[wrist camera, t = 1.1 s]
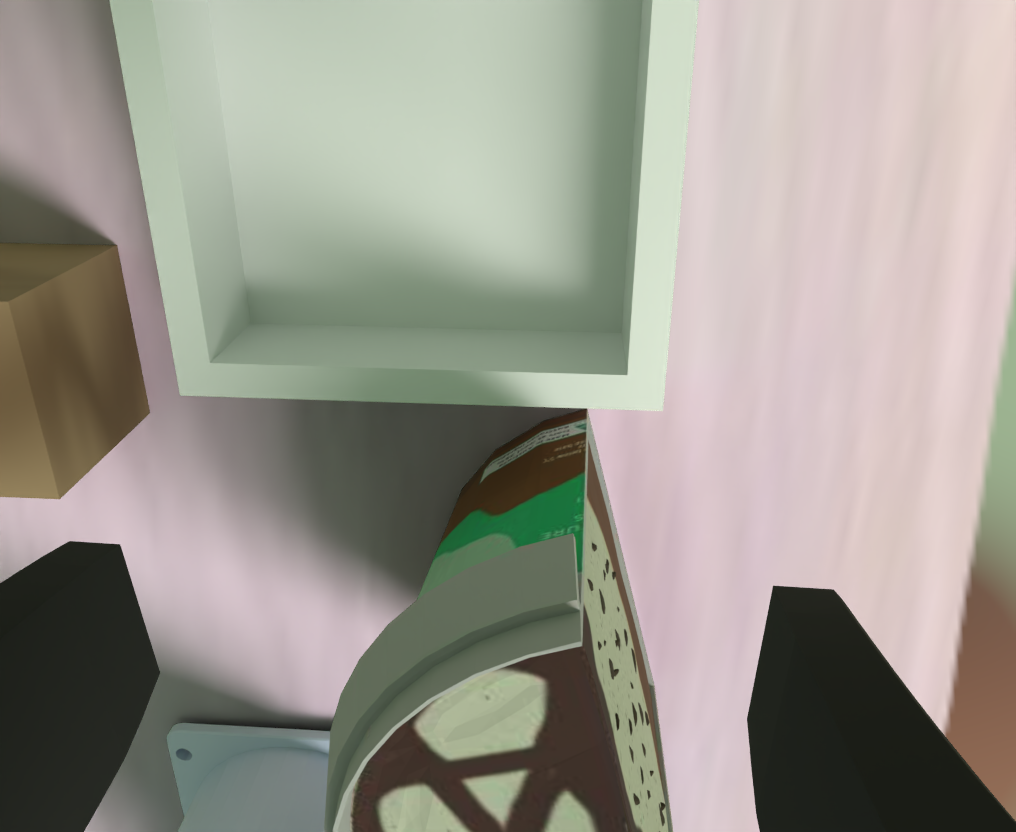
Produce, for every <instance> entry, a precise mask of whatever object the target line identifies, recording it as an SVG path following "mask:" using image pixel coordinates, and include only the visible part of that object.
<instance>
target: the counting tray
mask: <svg viewBox="0 0 1016 832" xmlns="http://www.w3.org/2000/svg"><path fill="white" fill-rule="evenodd" d="M109 2H110V7H111V13H112V18H113V24H114V30H115V35H116V41H117V46H118V52H119V57H120V63H121V69H122V74H123V80H124V85H125V91H126V97H127V102H128V108H129V113H130V119H131V125H132V130H133V136H134V141H135V147H136V152H137V158H138V164H139V169H140V175H141V180H142V186H143V192H144V197H145V203H146V208H147V214H148V219H149V225H150V231H151V236H152V242H153V247H154V253H155V259H156V264H157V270H158V275H159V281H160V287H161V292H162V298H163V303H164V309H165V314H166V320H167V326H168V331H169V337H170V342H171V348H172V354H173V359H174V365H175V370H176V376H177V382H178V387H179V393H180V396H208V397H240V398H271V399H303V400H334V401H366V402H397V403H429V404H461V405H492V406H524V407H555V408H587V409H618V410H650V411H663V402H664V391H665V379H666V368H667V357H668V345H669V334H670V323H671V311H672V300H673V289H674V277H675V266H676V254H677V243H678V232H679V220H680V209H681V198H682V186H683V175H684V164H685V152H686V141H687V130H688V118H689V107H690V95H691V84H692V73H693V61H694V50H695V39H696V27H697V16H698V5H699V0H109Z"/></svg>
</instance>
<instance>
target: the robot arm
mask: <svg viewBox="0 0 1016 832" xmlns="http://www.w3.org/2000/svg"><path fill="white" fill-rule="evenodd" d="M159 674H160V671H159V668H158V665H157V662H156V659H155V655H154V652H153V649H152V646H151V642H150V639H149V636H148V633H147V630H146V626H145V623H144V620H143V617H142V614H141V610H140V607H139V604H138V601H137V597H136V594H135V591H134V588H133V585H132V581H131V578H130V575H129V572H128V568H127V565H126V562H125V559H124V556H123V552H122V549H121V546H120V544H104V543H88V542H72V541H69V542H67V543H66V544H64V545H62V546H60V547H59V548H57V549H55V550H53V551H52V552H50V553H48V554H46V555H45V556H43V557H41V558H40V559H38V560H36V561H35V562H33V563H32V564H30V565H28V566H27V567H25V568H24V569H22V570H20V571H19V572H17V573H16V574H14V575H13V576H11V577H9V578H8V579H6V580H5V581H3V582H2V583H0V832H84V830H85V829H86V827H87V825H88V823H89V822H90V820H91V818H92V816H93V815H94V813H95V811H96V809H97V807H98V806H99V804H100V802H101V800H102V799H103V797H104V795H105V793H106V791H107V790H108V788H109V786H110V784H111V783H112V781H113V779H114V777H115V775H116V773H117V772H118V770H119V768H120V766H121V764H122V762H123V761H124V759H125V757H126V754H127V752H128V750H129V748H130V745H131V743H132V741H133V738H134V736H135V734H136V731H137V729H138V727H139V724H140V722H141V720H142V717H143V715H144V712H145V710H146V707H147V705H148V702H149V700H150V697H151V694H152V692H153V689H154V687H155V684H156V682H157V679H158V677H159ZM747 722H748V733H749V744H750V756H751V767H752V777H753V786H754V796H755V805H756V814H757V819H758V824H759V829H760V832H1016V821H1015V820H1014V819H1013V818H1012V817H1011V815H1010V814H1009V813H1008V812H1007V811H1006V810H1005V808H1004V807H1003V806H1002V805H1001V804H1000V803H999V801H998V800H997V799H996V798H995V797H994V795H993V794H992V793H991V792H990V791H989V790H988V788H987V787H986V786H985V785H984V784H983V782H982V781H981V780H980V779H979V777H978V776H977V775H976V774H975V773H974V771H973V770H972V769H971V768H970V766H969V765H968V764H967V763H966V761H965V760H964V759H963V758H962V757H961V755H960V754H959V753H958V752H957V750H956V749H955V748H954V747H953V745H952V744H951V743H950V742H949V741H948V739H947V738H946V737H945V736H944V734H943V733H942V732H941V731H940V729H939V728H938V727H937V726H936V724H935V723H934V722H933V721H932V719H931V718H930V717H929V715H928V714H927V713H926V712H925V710H924V709H923V708H922V707H921V705H920V704H919V703H918V701H917V700H916V699H915V697H914V696H913V695H912V693H911V692H910V691H909V690H908V688H907V687H906V686H905V684H904V683H903V682H902V680H901V679H900V678H899V676H898V675H897V674H896V672H895V671H894V670H893V668H892V667H891V666H890V664H889V663H888V662H887V660H886V659H885V658H884V656H883V655H882V654H881V652H880V651H879V649H878V648H877V647H876V645H875V644H874V643H873V641H872V640H871V639H870V637H869V636H868V634H867V633H866V632H865V630H864V629H863V627H862V626H861V625H860V623H859V622H858V621H857V619H856V618H855V616H854V615H853V614H852V612H851V611H850V609H849V608H848V607H847V605H846V604H845V603H844V601H843V600H842V599H841V597H840V596H839V595H838V594H837V593H836V592H835V591H834V590H831V589H815V588H800V587H784V586H773V590H772V595H771V600H770V605H769V610H768V615H767V620H766V625H765V631H764V636H763V641H762V646H761V651H760V656H759V661H758V666H757V671H756V677H755V682H754V687H753V692H752V697H751V702H750V707H749V712H748V717H747ZM329 744H330V731H318V730H301V729H283V728H265V727H248V726H230V725H212V724H195V723H178V724H176V725H174V726H173V727H172V728H171V730H170V732H169V734H168V735H167V745H168V749H169V753H170V758H171V762H172V766H173V771H174V775H175V779H176V784H177V788H178V792H179V797H180V801H181V805H182V810H183V814H184V819H183V821H182V823H181V826H180V828H179V830H178V832H324V821H325V805H326V790H327V774H328V759H329ZM185 749H187V750H185Z"/></svg>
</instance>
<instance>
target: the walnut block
mask: <svg viewBox="0 0 1016 832" xmlns="http://www.w3.org/2000/svg"><path fill="white" fill-rule="evenodd" d="M149 413H150V410H149V405H148V400H147V395H146V390H145V385H144V380H143V375H142V370H141V364H140V359H139V354H138V349H137V344H136V339H135V334H134V329H133V324H132V319H131V314H130V309H129V304H128V299H127V294H126V289H125V284H124V278H123V273H122V268H121V263H120V258H119V253H118V248H117V245H80V244H30V243H0V497H20V498H45V499H60V498H61V497H62V496H64V495H65V494H66V493H67V492H68V491H69V490H70V489H71V488H72V487H73V486H74V485H75V484H76V483H77V482H78V481H79V480H80V479H81V478H82V477H83V476H84V475H86V474H87V473H88V472H89V471H90V470H91V469H92V468H93V467H94V466H95V465H96V464H97V463H98V462H99V461H100V460H101V459H102V458H103V457H104V456H105V455H106V454H108V453H109V452H110V451H111V450H112V449H113V448H114V447H115V446H116V445H117V444H118V443H119V442H120V441H121V440H122V439H123V438H124V437H125V436H126V435H127V434H128V433H130V432H131V431H132V430H133V429H134V428H135V427H136V426H137V425H138V424H139V423H140V422H141V421H142V420H143V419H144V418H145V417H146V416H147V415H148V414H149Z"/></svg>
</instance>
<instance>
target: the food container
mask: <svg viewBox="0 0 1016 832" xmlns="http://www.w3.org/2000/svg"><path fill="white" fill-rule="evenodd" d="M324 832H673V827H672V819H671V811H670V803H669V795H668V788H667V780H666V772H665V764H664V757H663V749H662V741H661V733H660V725H659V718H658V710H657V702H656V694H655V686H654V682H653V678H652V674H651V670H650V666H649V661H648V657H647V653H646V649H645V645H644V641H643V637H642V633H641V628H640V624H639V620H638V616H637V612H636V608H635V604H634V600H633V595H632V591H631V587H630V583H629V579H628V575H627V571H626V567H625V562H624V558H623V554H622V550H621V546H620V542H619V538H618V534H617V529H616V525H615V521H614V517H613V513H612V509H611V505H610V501H609V496H608V492H607V488H606V484H605V480H604V476H603V472H602V468H601V463H600V459H599V455H598V451H597V447H596V443H595V439H594V435H593V430H592V426H591V422H590V418H589V414H588V410H587V409H583V410H580V411H576V412H573V413H569V414H566V415H562V416H559V417H555V418H552V419H549V420H545V421H543V422H541V423H540V424H538V425H536V426H535V427H533V428H531V429H530V430H528V431H526V432H525V433H523V434H521V435H520V436H518V437H516V438H515V439H513V440H511V441H510V442H508V443H506V444H505V445H503V446H501V447H500V448H498V449H496V450H495V451H494V452H493V454H492V455H491V456H490V457H489V458H488V459H487V461H486V462H485V463H484V464H483V465H482V466H481V468H480V469H479V470H478V471H477V472H476V473H475V475H474V476H473V477H472V478H471V479H470V480H469V482H468V483H467V484H466V485H465V486H464V487H463V489H462V491H461V493H460V496H459V498H458V501H457V503H456V505H455V508H454V510H453V513H452V515H451V518H450V520H449V523H448V525H447V527H446V530H445V532H444V535H443V537H442V540H441V542H440V545H439V547H438V549H437V552H436V554H435V557H434V559H433V562H432V564H431V567H430V569H429V571H428V574H427V576H426V579H425V581H424V584H423V586H422V589H421V591H420V594H419V596H418V598H417V601H416V602H414V603H413V604H412V605H411V606H410V607H408V608H407V609H406V610H405V611H404V612H402V613H401V614H400V615H399V616H398V617H397V618H395V619H394V620H393V621H392V622H391V623H389V624H388V625H387V626H386V628H385V629H384V630H383V631H382V633H381V634H380V635H379V636H378V637H377V639H376V640H375V641H374V642H373V643H372V645H371V646H370V647H369V648H368V650H367V651H366V652H365V653H364V654H363V656H362V657H361V658H360V660H359V661H358V663H357V665H356V667H355V669H354V671H353V673H352V675H351V676H350V678H349V680H348V682H347V684H346V686H345V688H344V689H343V691H342V693H341V696H340V699H339V703H338V706H337V710H336V713H335V716H334V720H333V723H332V727H331V730H330V744H329V759H328V774H327V790H326V805H325V821H324Z"/></svg>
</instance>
